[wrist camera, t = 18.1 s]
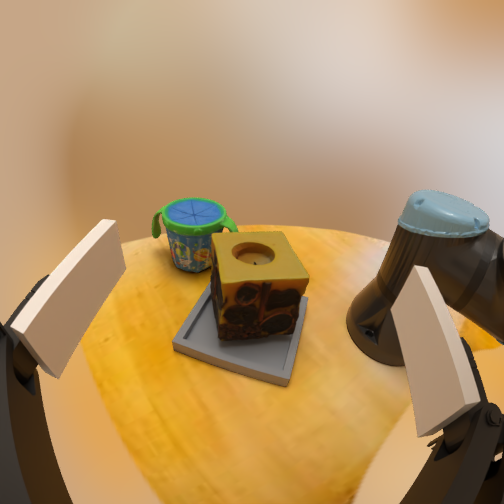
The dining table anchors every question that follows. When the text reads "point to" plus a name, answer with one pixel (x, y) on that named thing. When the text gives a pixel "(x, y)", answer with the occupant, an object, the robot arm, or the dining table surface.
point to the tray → (238, 345)
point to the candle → (255, 285)
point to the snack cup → (192, 230)
